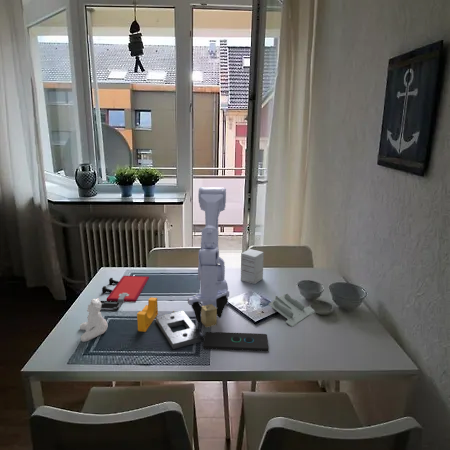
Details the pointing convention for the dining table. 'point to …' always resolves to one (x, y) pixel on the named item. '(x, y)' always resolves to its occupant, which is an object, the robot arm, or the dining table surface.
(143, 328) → the pipe clamp
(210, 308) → the brass block
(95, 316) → the sitting furry creature
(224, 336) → the smart home device
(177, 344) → the metal plate with hole
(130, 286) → the red board with handle
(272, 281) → the dining table surface
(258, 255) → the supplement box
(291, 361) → the dining table surface
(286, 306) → the metal bracket
